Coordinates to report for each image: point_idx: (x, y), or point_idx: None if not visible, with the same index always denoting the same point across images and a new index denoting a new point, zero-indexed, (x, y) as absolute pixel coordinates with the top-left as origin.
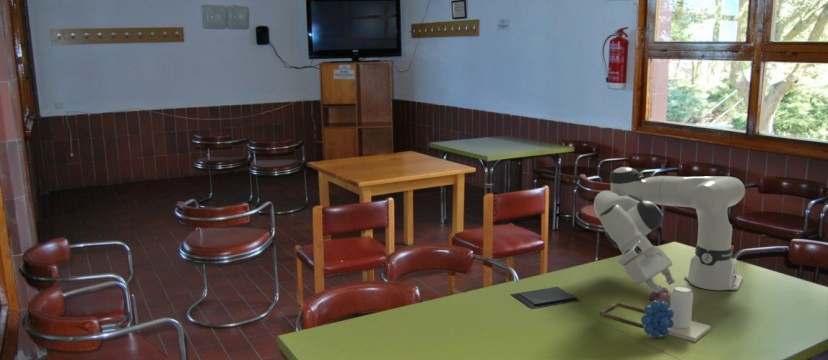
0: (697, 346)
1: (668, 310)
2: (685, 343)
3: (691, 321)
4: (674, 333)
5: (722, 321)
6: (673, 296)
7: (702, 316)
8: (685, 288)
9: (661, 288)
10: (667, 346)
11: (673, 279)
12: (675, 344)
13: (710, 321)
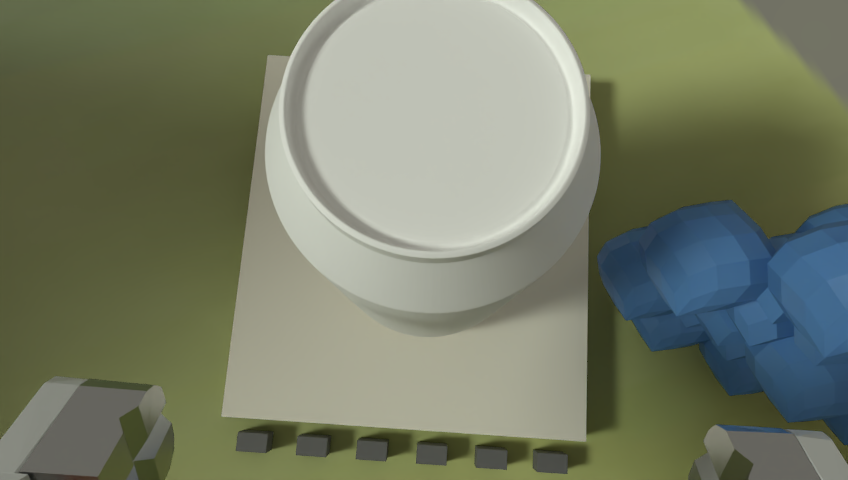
0: (646, 54)
1: (764, 243)
2: (656, 135)
3: (265, 202)
4: (584, 241)
5: (50, 46)
6: (573, 238)
7: (24, 196)
8: (344, 87)
9: (742, 432)
10: (805, 220)
11: (50, 406)
12: (726, 186)
13: (102, 116)
